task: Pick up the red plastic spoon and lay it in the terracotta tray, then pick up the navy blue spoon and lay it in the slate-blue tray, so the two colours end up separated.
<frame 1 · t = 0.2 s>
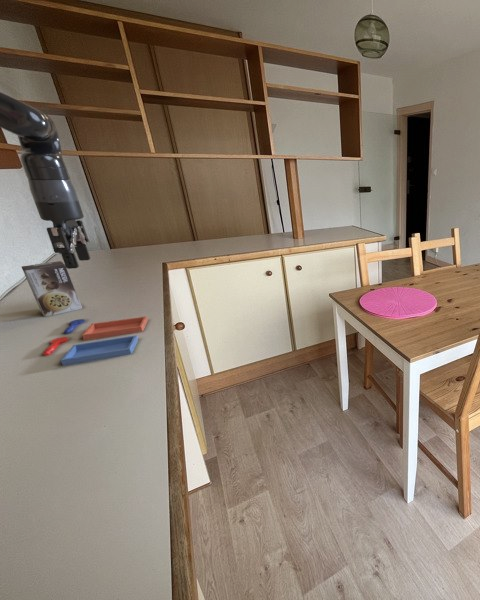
hand: (79, 263, 82), 22 cm above the counter, tool pointing down, fingers open, 8 cm apart
blue tray: (103, 353, 82), on the counter
red spoon: (52, 350, 83), on the counter
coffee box: (62, 311, 105), on the counter
red tray: (118, 331, 94), on the counter
blue spoon: (72, 330, 93), on the counter
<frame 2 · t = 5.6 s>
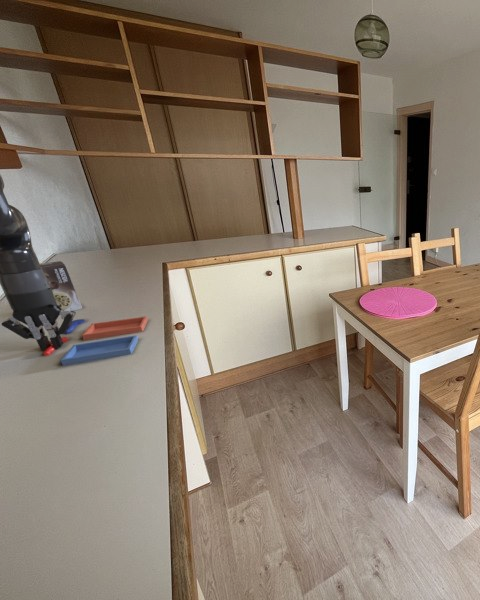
hand: (53, 349, 83), 0 cm above the counter, tool pointing down, fingers closed on red spoon, 1 cm apart
red spoon: (52, 350, 83), on the counter, touching gripper
everything else where it was.
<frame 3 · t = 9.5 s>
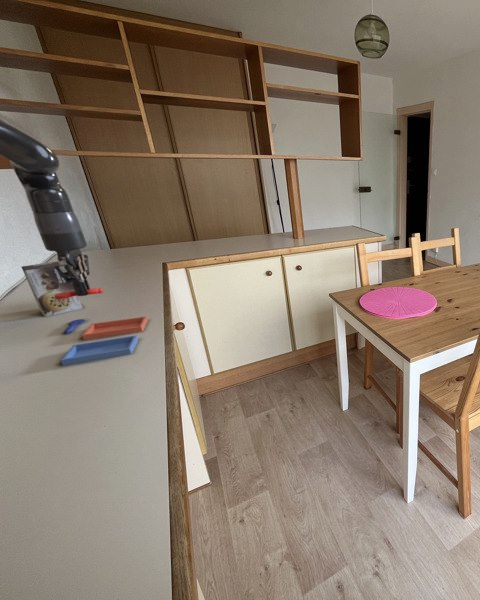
hand: (84, 294, 85), 13 cm above the counter, tool pointing down, fingers closed on red spoon, 1 cm apart
red spoon: (87, 294, 85), point 13 cm above the counter, touching gripper
everything else where it was.
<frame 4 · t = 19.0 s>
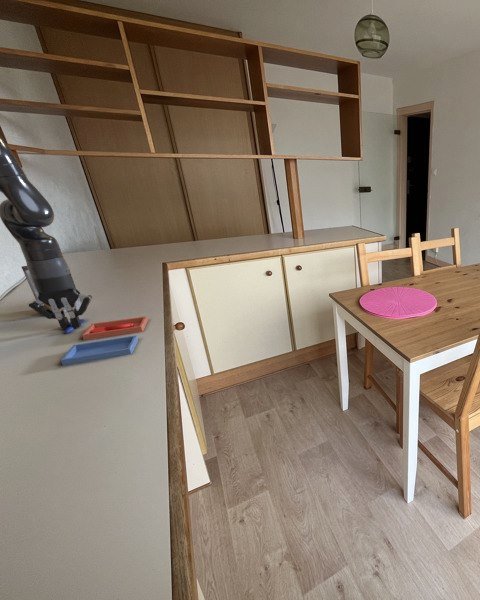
hand: (72, 328, 93), 0 cm above the counter, tool pointing down, fingers closed on blue spoon, 1 cm apart
red spoon: (119, 329, 94), resting on red tray
blue spoon: (72, 330, 93), on the counter, touching gripper
everything else where it was.
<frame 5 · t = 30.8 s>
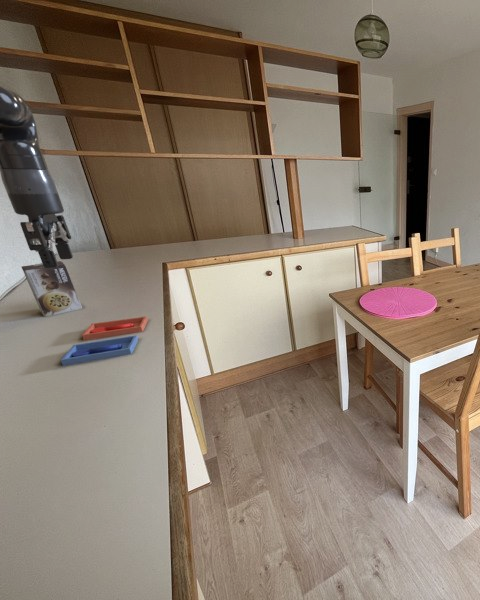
hand: (59, 262, 75), 24 cm above the counter, tool pointing down, fingers open, 8 cm apart
blue spoon: (106, 351, 82), resting on blue tray
everything else where it was.
at the end: red spoon inside the target area on the red tray (0.5 cm from its centre), point 0.5 cm above the red tray's base; blue spoon inside the target area on the blue tray (0.5 cm from its centre), point 0.5 cm above the blue tray's base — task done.
